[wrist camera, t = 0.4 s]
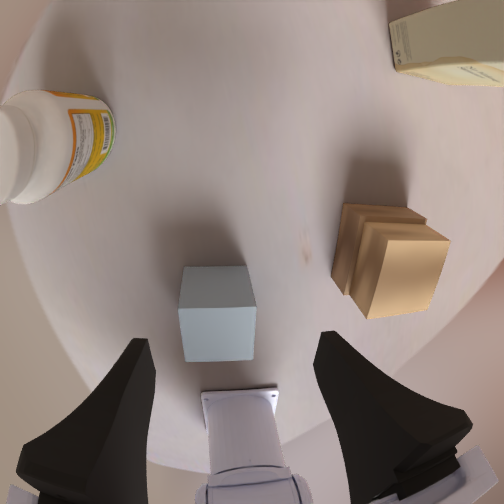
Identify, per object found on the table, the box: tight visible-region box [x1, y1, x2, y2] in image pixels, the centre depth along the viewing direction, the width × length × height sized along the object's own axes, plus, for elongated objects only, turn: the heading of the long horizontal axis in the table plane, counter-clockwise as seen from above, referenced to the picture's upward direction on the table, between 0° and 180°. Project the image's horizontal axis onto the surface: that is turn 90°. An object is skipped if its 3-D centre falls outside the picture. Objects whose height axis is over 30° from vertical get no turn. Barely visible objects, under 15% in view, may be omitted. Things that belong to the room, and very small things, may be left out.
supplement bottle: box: [0, 90, 116, 205], centre depth 11 cm, size 5×5×10 cm
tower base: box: [331, 203, 427, 295], centre depth 20 cm, size 6×6×3 cm
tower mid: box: [349, 222, 451, 319], centre depth 18 cm, size 6×6×3 cm
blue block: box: [178, 266, 257, 362], centre depth 19 cm, size 4×4×5 cm
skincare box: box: [389, 0, 504, 87], centre depth 9 cm, size 6×4×12 cm
